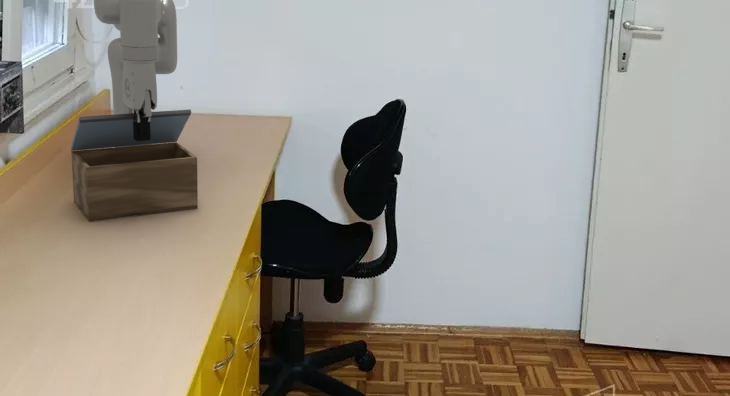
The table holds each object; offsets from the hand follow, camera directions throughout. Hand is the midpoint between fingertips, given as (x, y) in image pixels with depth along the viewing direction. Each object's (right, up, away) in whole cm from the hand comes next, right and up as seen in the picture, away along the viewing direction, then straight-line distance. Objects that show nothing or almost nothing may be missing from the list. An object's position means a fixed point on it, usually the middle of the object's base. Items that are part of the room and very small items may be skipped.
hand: (142, 139), depth 189 cm
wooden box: (-4, -14, +10) cm, 18 cm away
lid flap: (-4, +2, +7) cm, 8 cm away
